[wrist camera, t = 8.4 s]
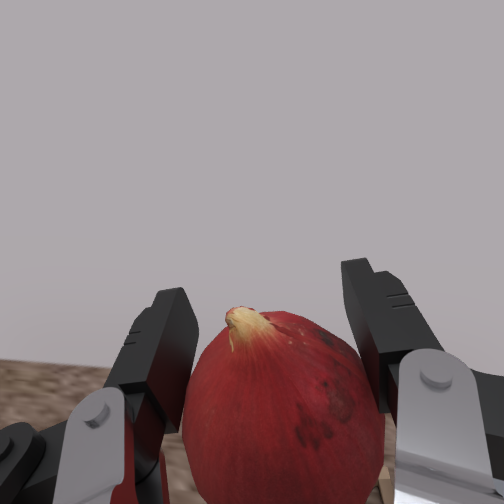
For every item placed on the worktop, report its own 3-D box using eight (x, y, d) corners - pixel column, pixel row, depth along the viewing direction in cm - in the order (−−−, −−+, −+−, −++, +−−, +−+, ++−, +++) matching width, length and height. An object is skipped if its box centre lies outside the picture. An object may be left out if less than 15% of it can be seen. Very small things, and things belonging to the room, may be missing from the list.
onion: (348, 386, 14) (335, 227, 10) (419, 564, 9) (456, 397, 5) (219, 413, 14) (152, 269, 10) (219, 603, 9) (86, 474, 5)
